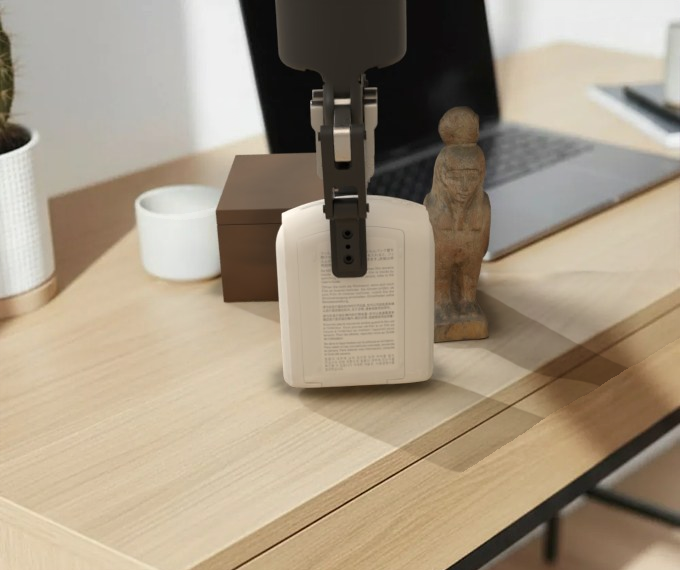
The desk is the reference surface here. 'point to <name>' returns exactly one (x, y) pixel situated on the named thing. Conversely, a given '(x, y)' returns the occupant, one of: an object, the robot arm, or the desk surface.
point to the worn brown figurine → (459, 227)
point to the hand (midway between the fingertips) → (350, 259)
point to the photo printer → (357, 299)
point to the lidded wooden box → (260, 219)
